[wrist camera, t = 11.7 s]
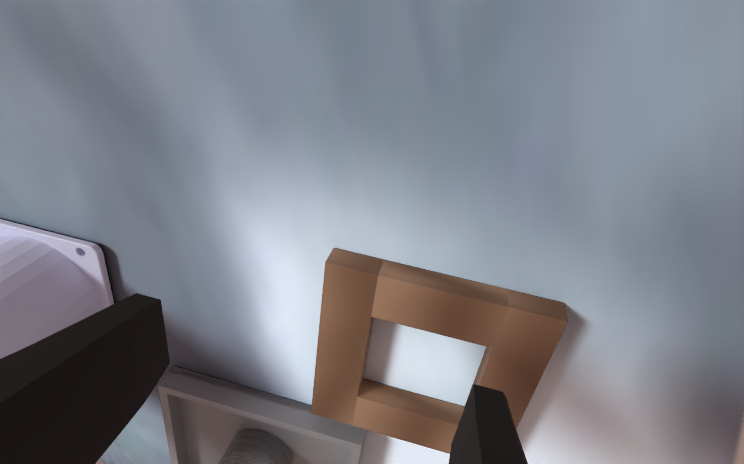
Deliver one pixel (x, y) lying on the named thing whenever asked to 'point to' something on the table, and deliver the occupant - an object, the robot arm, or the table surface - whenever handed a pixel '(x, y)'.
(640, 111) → the table surface
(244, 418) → the tray
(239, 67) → the table surface
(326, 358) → the socket block
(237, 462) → the steel pin
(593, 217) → the table surface
